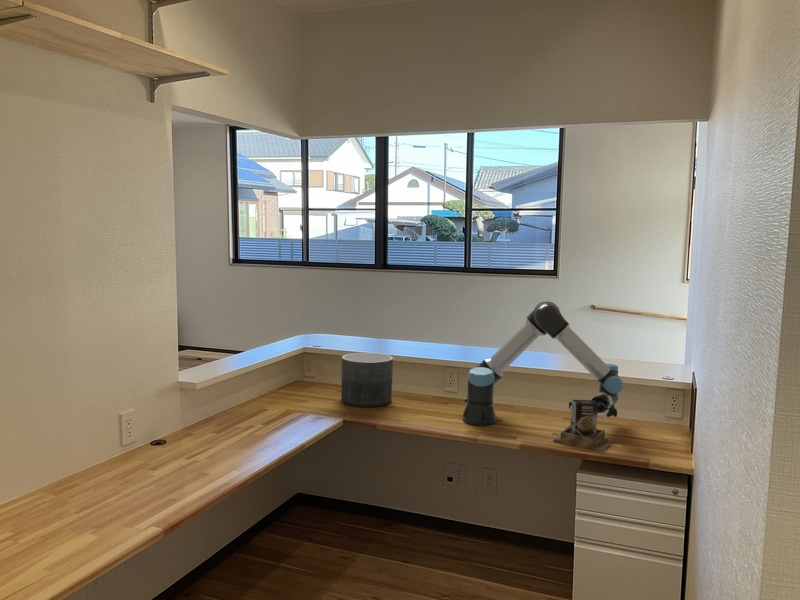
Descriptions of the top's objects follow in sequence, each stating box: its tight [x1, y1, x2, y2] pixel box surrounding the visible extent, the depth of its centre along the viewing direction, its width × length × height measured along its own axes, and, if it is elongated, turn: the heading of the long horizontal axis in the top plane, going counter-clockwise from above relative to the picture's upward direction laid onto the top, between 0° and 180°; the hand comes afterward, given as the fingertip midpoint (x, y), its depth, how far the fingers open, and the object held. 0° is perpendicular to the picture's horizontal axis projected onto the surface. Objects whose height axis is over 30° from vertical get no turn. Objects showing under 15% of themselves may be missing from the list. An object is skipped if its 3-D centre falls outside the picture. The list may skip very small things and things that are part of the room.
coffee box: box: [569, 399, 599, 438], centre depth 248 cm, size 9×6×16 cm
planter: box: [340, 352, 394, 408], centre depth 302 cm, size 25×25×22 cm
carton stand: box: [552, 425, 613, 453], centre depth 249 cm, size 20×14×4 cm
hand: (586, 413), depth 249 cm, fingers open, 13 cm apart
